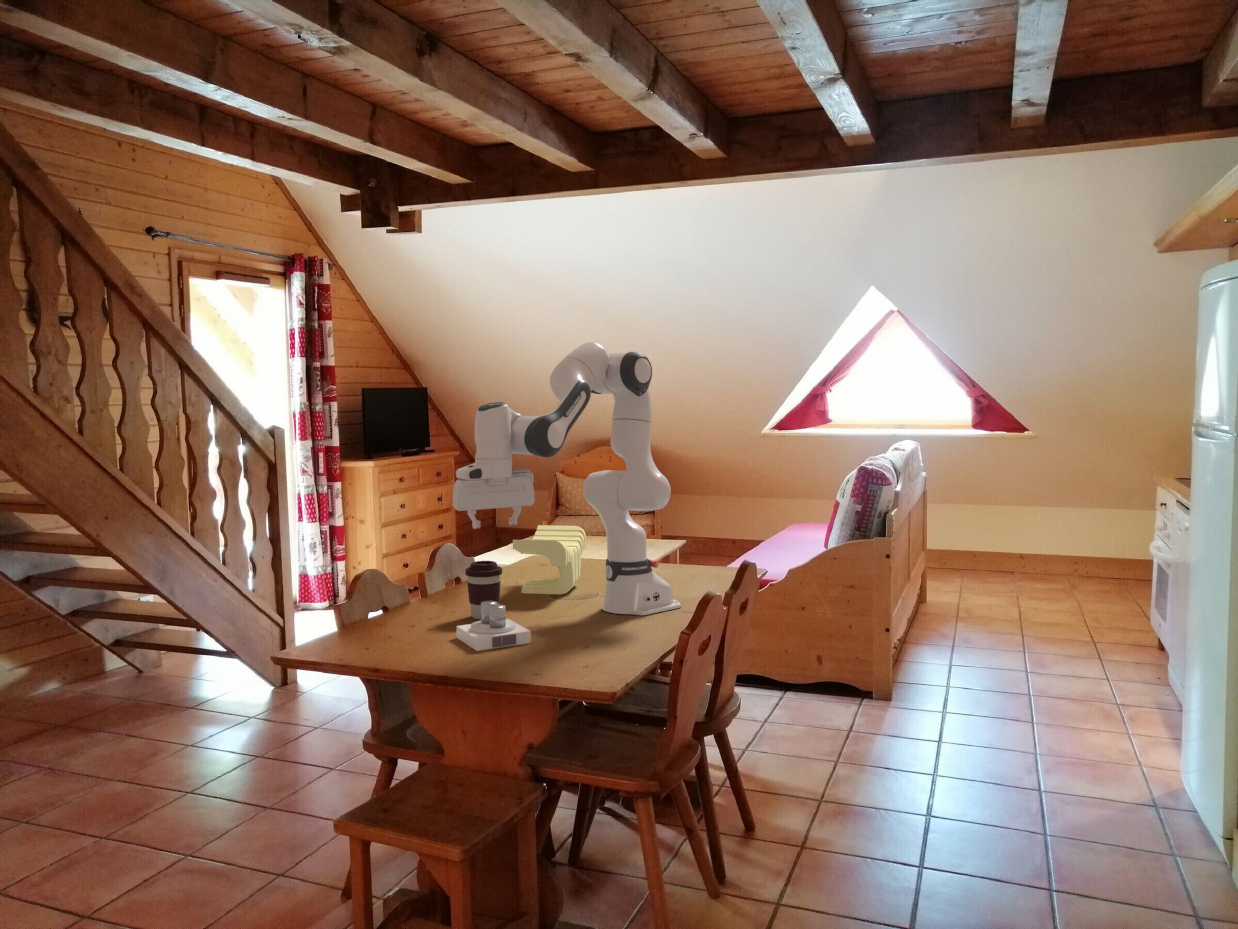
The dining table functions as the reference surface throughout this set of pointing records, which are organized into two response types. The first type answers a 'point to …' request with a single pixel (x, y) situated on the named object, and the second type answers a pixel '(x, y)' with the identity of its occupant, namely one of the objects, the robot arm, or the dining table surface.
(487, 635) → the scale
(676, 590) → the dining table surface
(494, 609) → the cylinder
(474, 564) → the coffee cup
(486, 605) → the cylinder
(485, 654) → the dining table surface
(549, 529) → the slatted curved stool
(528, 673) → the dining table surface
